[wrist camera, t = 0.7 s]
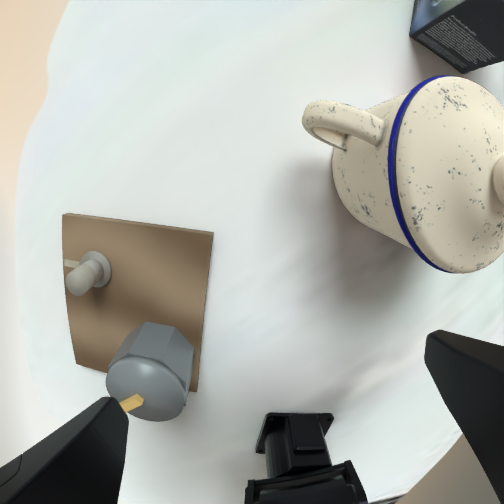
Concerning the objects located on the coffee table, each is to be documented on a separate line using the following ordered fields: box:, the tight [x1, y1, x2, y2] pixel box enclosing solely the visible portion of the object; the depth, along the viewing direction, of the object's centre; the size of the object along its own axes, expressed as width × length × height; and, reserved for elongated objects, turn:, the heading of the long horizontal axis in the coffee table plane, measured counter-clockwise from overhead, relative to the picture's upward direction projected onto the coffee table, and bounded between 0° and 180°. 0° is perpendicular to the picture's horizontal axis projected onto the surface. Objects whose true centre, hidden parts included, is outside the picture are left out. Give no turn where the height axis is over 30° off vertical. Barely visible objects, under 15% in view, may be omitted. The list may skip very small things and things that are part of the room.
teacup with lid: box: [302, 75, 504, 273], centre depth 12 cm, size 12×9×12 cm
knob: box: [106, 322, 194, 422], centre depth 18 cm, size 5×5×5 cm
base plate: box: [62, 213, 214, 392], centre depth 18 cm, size 13×11×4 cm
